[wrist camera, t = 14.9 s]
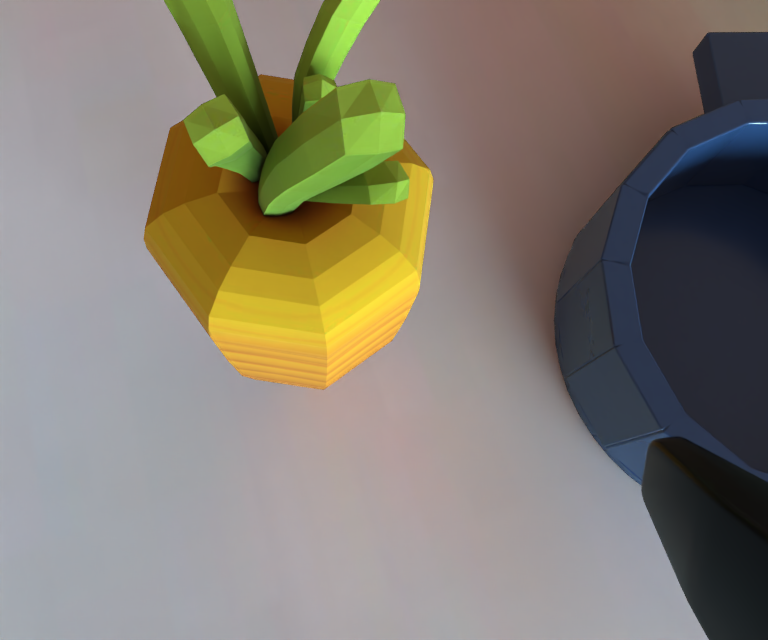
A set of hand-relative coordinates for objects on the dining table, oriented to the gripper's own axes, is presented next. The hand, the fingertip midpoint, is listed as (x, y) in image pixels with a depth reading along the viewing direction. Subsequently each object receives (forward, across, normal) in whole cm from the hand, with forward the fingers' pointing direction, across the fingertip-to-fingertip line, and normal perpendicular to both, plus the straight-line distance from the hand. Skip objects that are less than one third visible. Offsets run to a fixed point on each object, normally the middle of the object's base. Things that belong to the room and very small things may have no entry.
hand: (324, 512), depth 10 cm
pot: (+11, -14, +6) cm, 18 cm away
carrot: (+12, 0, +5) cm, 13 cm away
